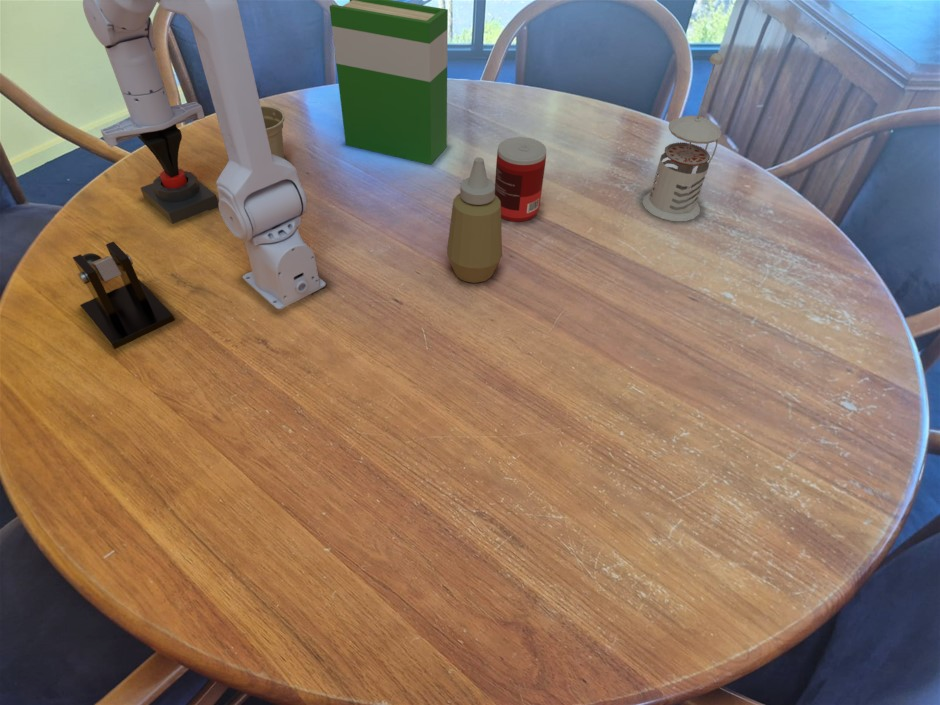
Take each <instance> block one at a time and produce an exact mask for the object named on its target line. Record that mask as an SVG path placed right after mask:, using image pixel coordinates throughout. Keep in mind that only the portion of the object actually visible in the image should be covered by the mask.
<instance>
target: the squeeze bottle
mask: <svg viewBox="0 0 940 705" xmlns="http://www.w3.org/2000/svg"><path fill="white" fill-rule="evenodd" d="M484 159H485V158H483V157H475V158H474V160H473V164H472V167H471V170H470V175H469V176H468V177H467V178H465V179H463V180H462V181H461V182H460V188H459V190H460V192H459V193H458V194H456V195H455V197H454V198H453V201H452V208H451V216H450V225H449V232H448V240H447V246H446V255H447V257H448V260H449V262H450V265H451V268H452V270H453V272H454V274H455V276H456V278H458V279H460V280H461V281H463V282H467V283H482V282H486V281H488V280H489V279H491V278H492V276H493V274H494V272H495V270H496V269H497V267H498V265H499V263H500V261H501V259H502V257H503V238H502V237H503V236H502V218H501V202H500V200H499V198H498V197H497V196H496V195H495V182H493V180H491V179H489V178H488V177H487V171H486V165H485V164H486V163H485V160H484Z"/></svg>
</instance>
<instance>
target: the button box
mask: <svg viewBox="0 0 940 705" xmlns="http://www.w3.org/2000/svg"><path fill="white" fill-rule="evenodd" d="M183 171H184V173H185V176H186V179H187V183H186V184H185V185H184V186H181V187H178V188H165V187H164V186H163V183H162V180H161V178H160V175H159V176H157V177H156V178H155V179H154V180H153V182H152V183H149V184H146V185H143V186H141V187H140V191H141V194H142V196H143V198H144V200H145V201H147V203H149V204H150V205H151V206H152V207H153V208H154V209H155V210H156V211H157V212H159V213H160V214H161V215H162V216H163V217H164V218H165V219H166V220H168V222H170V223H171V224H172V225H174V224H176V223H177V224H178V223H179V222H181V221H184V220H187V219H189V218H192V217H194V216H197V215H200V214H201V213H205V212H207V211H212V210H215V209H217V208H219V199H218V197H217V194H215V193H214V192H213V191H212V190H211V189H210V188H208V187H207V186H206V185H205V184H203V183H202V182H201V181H199V180H198V177H197V176H196V175H195V174H194V173H193V172H191V171H185V170H183Z"/></svg>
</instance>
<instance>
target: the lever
mask: <svg viewBox="0 0 940 705" xmlns="http://www.w3.org/2000/svg"><path fill="white" fill-rule="evenodd" d="M82 256H83V257H84V258H85V260H86V261H87V262H88V263H89V264H90V265H91V266H92V268H93V269H94V270H95V271H96V273H97V275H98V277H99V279H100V281H101V282H104V283H106V282H108V281H111V280H113V279H116V278H118V277H121V276H120V275H122V273H121V271H120V269H119V268H118V266H117V264H116V263H115V261H114V259H113V257H111V255H110V256H109V255H107V256H104V257H101V256H100V255H99V254H97V253H93V252H92V253H91V252H90V253H85V254H83V255H82Z"/></svg>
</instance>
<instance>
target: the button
mask: <svg viewBox="0 0 940 705" xmlns="http://www.w3.org/2000/svg"><path fill="white" fill-rule="evenodd" d="M178 171H179V175H177V176H174V177H170V176H168V175H167V174H166V173H165V171H164V170H163V171H161V172H160V173H159V176H160V178H161V180H162V183H163V186H164V187H165V188H178V187H181V186H184V185H185V184H186V183H187V179H186V176H185V173H184V171H185V170H183V169H182V168H180V167H178Z"/></svg>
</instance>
